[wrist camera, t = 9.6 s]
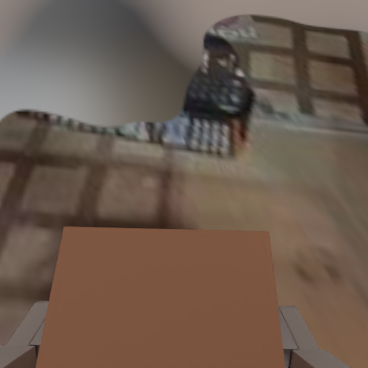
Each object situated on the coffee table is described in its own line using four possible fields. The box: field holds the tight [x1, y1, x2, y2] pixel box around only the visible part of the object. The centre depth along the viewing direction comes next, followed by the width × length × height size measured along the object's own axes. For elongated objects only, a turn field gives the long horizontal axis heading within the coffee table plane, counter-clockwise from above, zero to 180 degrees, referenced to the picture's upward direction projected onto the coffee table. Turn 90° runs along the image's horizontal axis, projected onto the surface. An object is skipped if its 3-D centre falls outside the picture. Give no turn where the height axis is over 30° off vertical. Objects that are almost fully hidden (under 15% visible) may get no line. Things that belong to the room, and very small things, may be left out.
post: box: [35, 227, 285, 368], centre depth 9 cm, size 4×4×9 cm
